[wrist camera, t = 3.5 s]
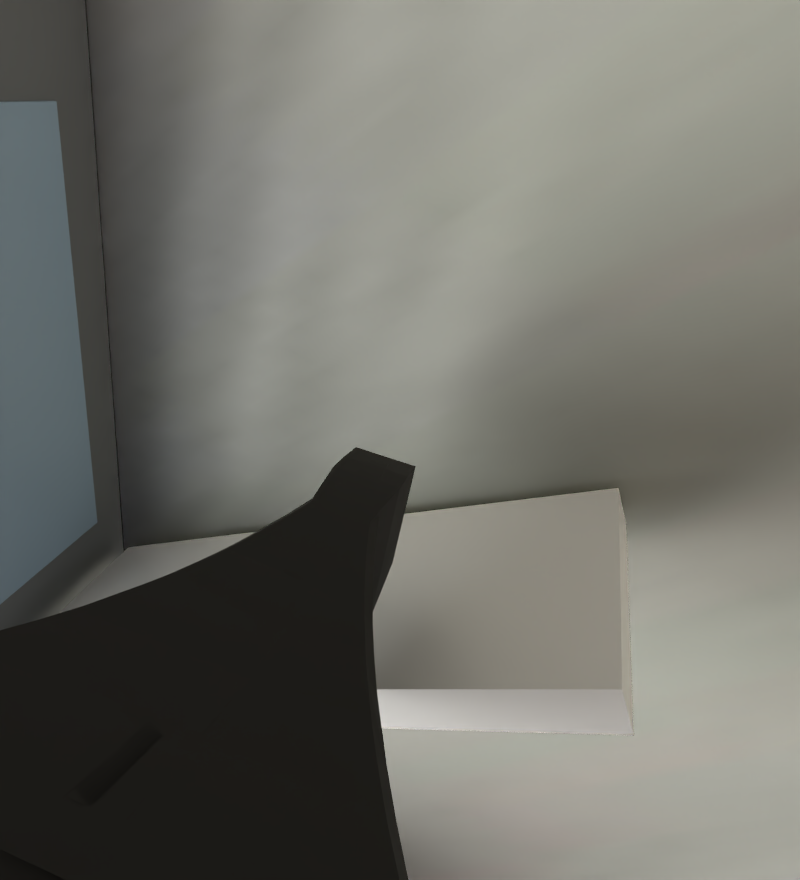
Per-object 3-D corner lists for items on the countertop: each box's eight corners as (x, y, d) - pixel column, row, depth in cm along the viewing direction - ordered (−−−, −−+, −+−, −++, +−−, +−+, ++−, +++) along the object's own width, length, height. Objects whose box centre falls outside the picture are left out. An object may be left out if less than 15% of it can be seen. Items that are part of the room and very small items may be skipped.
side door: (142, 589, 17) (2, 739, 13) (117, 547, 16) (-38, 691, 12) (631, 548, 12) (642, 771, 8) (618, 486, 11) (622, 693, 7)
